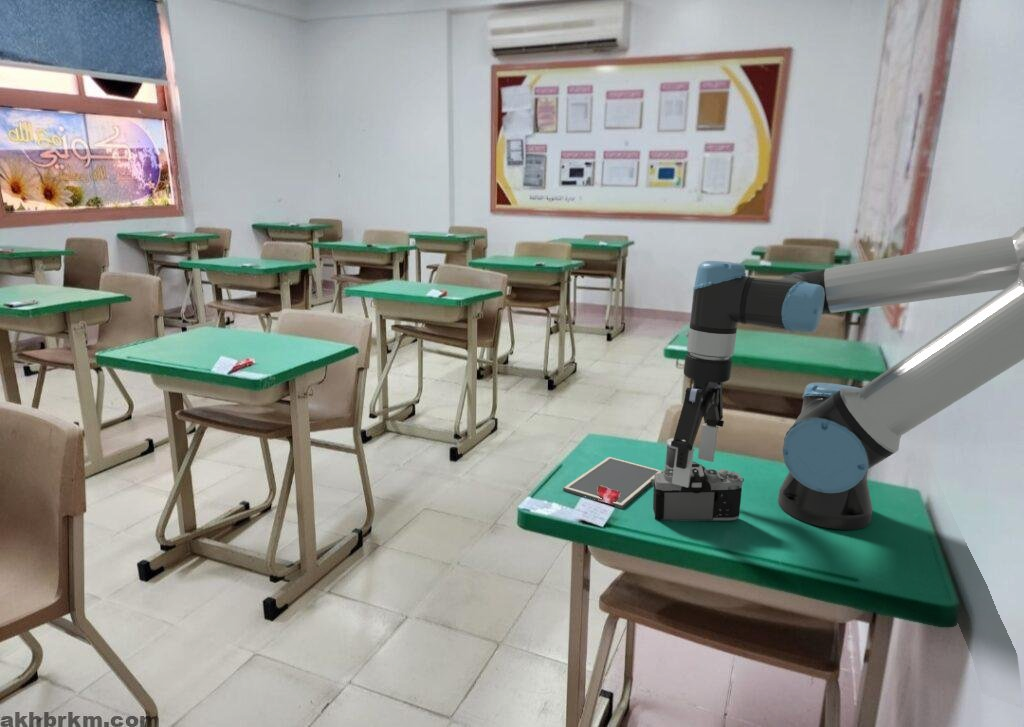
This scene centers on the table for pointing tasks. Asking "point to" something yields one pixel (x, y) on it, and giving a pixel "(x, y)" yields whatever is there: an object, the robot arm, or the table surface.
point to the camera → (698, 495)
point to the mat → (614, 480)
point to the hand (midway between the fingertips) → (693, 474)
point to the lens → (670, 454)
